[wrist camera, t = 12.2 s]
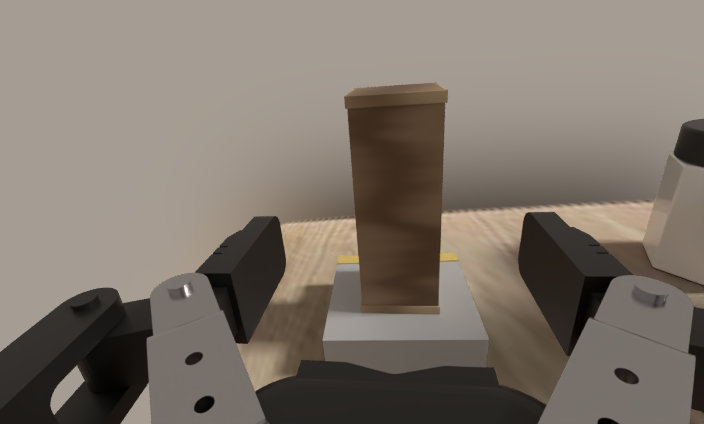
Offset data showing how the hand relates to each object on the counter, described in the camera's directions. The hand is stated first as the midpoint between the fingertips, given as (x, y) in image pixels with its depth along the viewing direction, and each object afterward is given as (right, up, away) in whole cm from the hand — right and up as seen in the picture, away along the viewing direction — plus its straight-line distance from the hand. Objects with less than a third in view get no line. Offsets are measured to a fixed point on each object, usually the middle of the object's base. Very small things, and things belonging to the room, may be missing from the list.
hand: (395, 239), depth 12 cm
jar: (+29, -4, +19) cm, 35 cm away
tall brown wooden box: (+2, -5, +14) cm, 15 cm away
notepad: (+2, -8, +15) cm, 17 cm away
